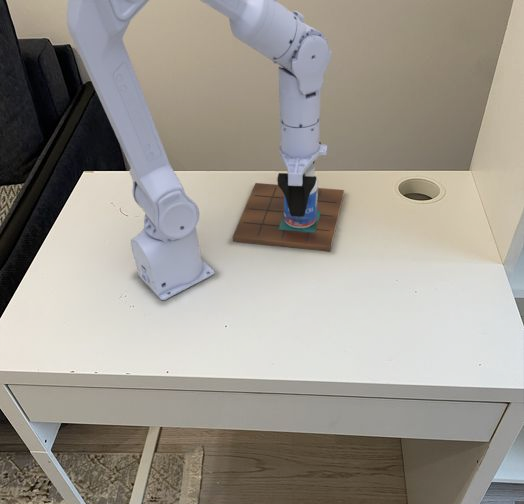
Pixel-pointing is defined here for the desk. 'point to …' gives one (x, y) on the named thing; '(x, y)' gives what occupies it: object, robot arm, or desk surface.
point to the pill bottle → (310, 209)
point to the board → (275, 228)
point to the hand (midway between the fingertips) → (299, 201)
